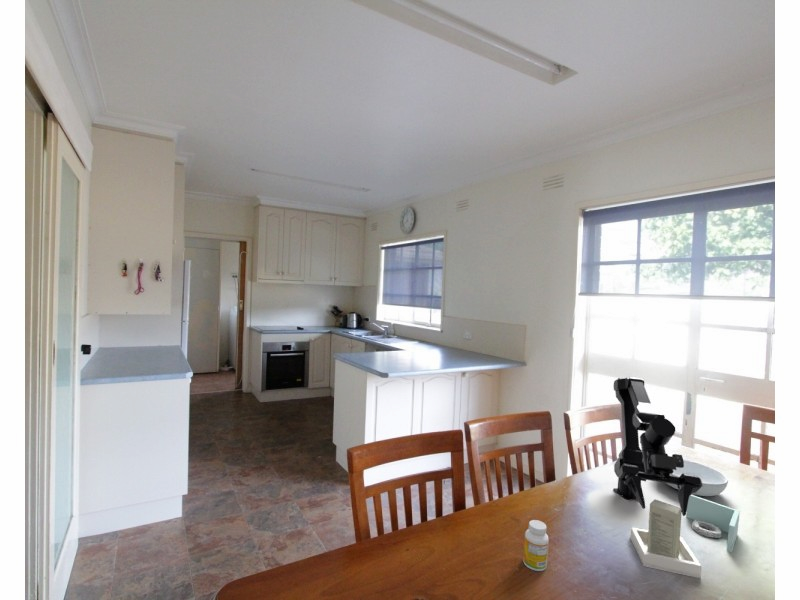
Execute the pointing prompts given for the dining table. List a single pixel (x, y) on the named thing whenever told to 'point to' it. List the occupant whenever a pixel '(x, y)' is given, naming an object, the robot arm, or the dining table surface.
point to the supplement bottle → (536, 546)
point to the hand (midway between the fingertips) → (663, 511)
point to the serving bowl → (703, 478)
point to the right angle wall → (713, 519)
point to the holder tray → (679, 565)
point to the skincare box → (664, 529)
